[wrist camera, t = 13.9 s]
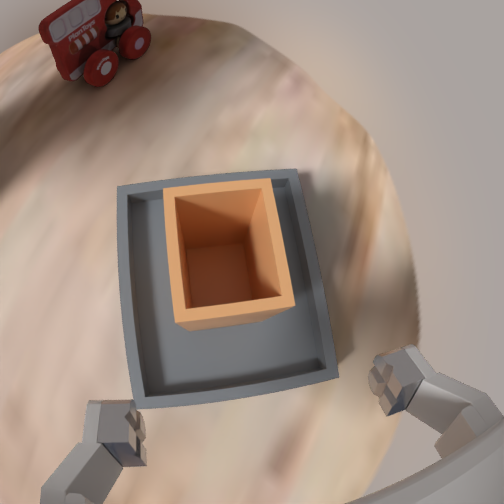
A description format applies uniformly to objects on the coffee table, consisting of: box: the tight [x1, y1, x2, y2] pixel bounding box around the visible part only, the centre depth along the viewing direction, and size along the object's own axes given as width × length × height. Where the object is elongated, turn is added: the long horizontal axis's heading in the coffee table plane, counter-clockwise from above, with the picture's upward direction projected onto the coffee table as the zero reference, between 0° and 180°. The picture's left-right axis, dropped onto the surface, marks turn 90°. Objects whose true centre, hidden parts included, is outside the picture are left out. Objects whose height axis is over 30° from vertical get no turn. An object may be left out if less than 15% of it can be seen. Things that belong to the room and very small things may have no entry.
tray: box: [117, 169, 339, 409], centre depth 22 cm, size 16×14×2 cm
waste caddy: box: [163, 178, 295, 331], centre depth 18 cm, size 6×5×9 cm
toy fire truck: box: [39, 0, 151, 87], centre depth 24 cm, size 7×12×10 cm, turn 150°
